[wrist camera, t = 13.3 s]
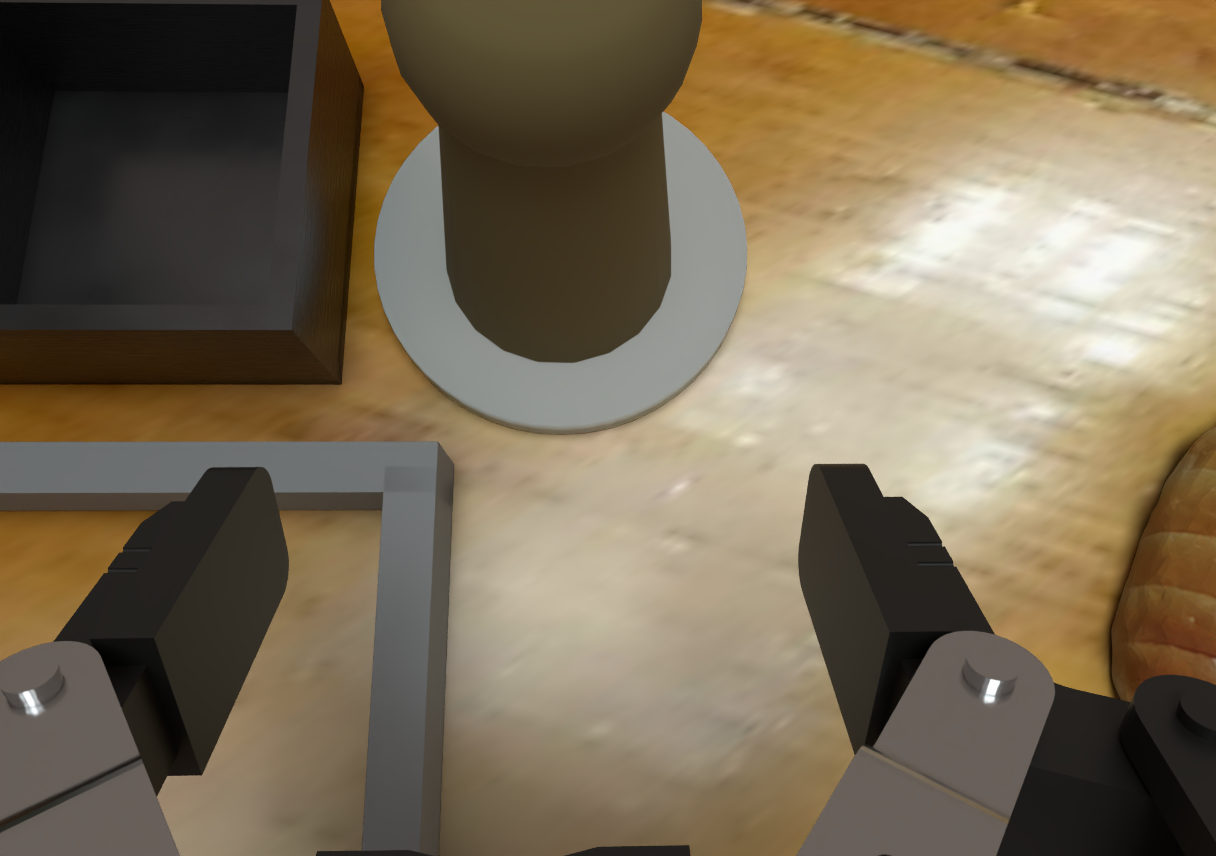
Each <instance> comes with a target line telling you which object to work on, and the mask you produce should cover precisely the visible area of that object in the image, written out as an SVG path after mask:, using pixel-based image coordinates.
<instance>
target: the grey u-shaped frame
mask: <svg viewBox="0 0 1216 856" xmlns="http://www.w3.org/2000/svg"><path fill="white" fill-rule="evenodd" d="M211 467H264V468H265V469H266V470H267V471H268V473H269V475H270V477H271V480H272V484H273V489H274V493H275V497H276V502H277V506H278V510H382V523H381V540H380V556H379V573H378V590H377V606H376V623H375V639H374V656H373V672H372V689H371V705H370V722H369V738H368V755H367V771H366V788H365V804H364V821H363V837H362V851H373V850H412V851H416V852H420V853H424V854H428V855H432V856H438V855H439V830H440V805H441V780H442V755H443V730H444V705H445V680H446V655H447V630H448V605H449V580H450V555H451V530H452V505H453V480H454V463H453V462H452V461H451V459H450V458H449V456H448V455H447V454H446V452H445V451H444V449H443V448H442V447H441V445H440V444H439V442H0V511H141V510H160V509H162V508H163V507H165V506H166V505H167V504H169V503H170V502H172V501H185V500H186V499H187V497H188V496H189V494H190V493H191V491H192V490H193V488H194V487H195V486H196V484H197V483H198V481H199V480H200V478H201V477H202V475H203V474H204V473H205V471H206V470H207V469H209V468H211Z"/></svg>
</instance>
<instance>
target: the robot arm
mask: <svg viewBox="0 0 1216 856" xmlns="http://www.w3.org/2000/svg"><path fill="white" fill-rule="evenodd" d="M798 566H799V577H800V583H801V588H802V592H803V595H804V598H805V601H806V604H807V607H808V610H809V613H810V616H811V620H812V623H813V626H814V629H815V632H816V635H817V638H818V641H819V645H820V648H821V651H822V654H823V657H824V660H825V663H826V666H827V670H828V673H829V676H830V679H831V682H832V685H833V688H834V691H835V695H836V698H837V701H838V704H839V707H840V710H841V713H842V716H843V719H844V723H845V726H846V729H847V732H848V735H849V738H850V741H851V744H852V748H853V751H854V754H855V756H854V758H853V760H852V761H851V763H850V765H849V766H848V768H847V770H846V772H845V773H844V775H843V777H842V778H841V780H840V782H839V784H838V785H837V787H836V789H835V790H834V792H833V794H832V796H831V797H830V799H829V801H828V802H827V804H826V806H825V808H824V809H823V811H822V813H821V814H820V816H819V818H818V820H817V821H816V823H815V825H814V826H813V828H812V830H811V831H810V833H809V835H808V837H807V838H806V840H805V842H804V843H803V845H802V847H801V849H800V850H799V852H798V854H797V855H796V856H1216V685H1215V684H1212V683H1210V682H1207V681H1204V680H1200V679H1197V678H1193V677H1188V676H1182V675H1159V676H1154V677H1151V678H1149V679H1146V680H1145V681H1143V682H1142V683H1141V684H1140V685H1139V686H1138V688H1137V689H1136V691H1135V693H1134V695H1133V698H1132V700H1131V702H1128V701H1124V700H1119V699H1115V698H1111V697H1106V696H1102V695H1097V694H1093V693H1089V692H1084V691H1080V690H1076V689H1072V688H1068V687H1065V686H1062V685H1059V684H1056V683H1054V682H1053V680H1052V677H1051V675H1050V674H1049V672H1048V670H1047V669H1046V668H1045V666H1044V665H1043V664H1042V663H1041V662H1040V661H1039V660H1038V659H1037V658H1036V657H1035V656H1034V655H1033V654H1032V653H1030V652H1029V651H1028V650H1026V649H1025V648H1023V647H1021V646H1020V645H1018V644H1016V643H1014V642H1012V641H1010V640H1008V639H1006V638H1003V637H1000V636H997V635H995V634H994V632H993V630H992V629H991V627H990V625H989V623H988V622H987V620H986V618H985V616H984V615H983V613H982V611H981V609H980V608H979V606H978V604H977V602H976V601H975V599H974V597H973V595H972V594H971V592H970V590H969V588H968V586H967V585H966V583H965V581H964V579H963V578H962V576H961V574H960V572H959V571H958V569H957V567H954V566H953V560H952V558H951V557H950V555H949V553H948V551H947V550H946V548H945V547H942V541H941V539H940V537H939V536H938V534H937V532H936V530H935V529H934V527H933V525H932V523H931V522H930V520H929V518H928V517H927V516H926V515H924V514H923V513H922V512H921V511H919V510H918V509H917V508H916V507H914V506H913V505H912V504H911V503H909V502H908V501H907V500H906V499H904V498H903V497H883V495H882V493H881V491H880V489H879V487H878V485H877V483H876V481H875V479H874V477H873V476H872V474H871V472H870V470H869V468H868V466H867V465H865V464H814V465H813V467H812V469H811V471H810V475H809V481H808V488H807V495H806V502H805V508H804V515H803V522H802V529H801V536H800V543H799V553H798ZM288 571H289V558H288V550H287V545H286V541H285V537H284V532H283V528H282V524H281V519H280V515H279V510H278V506H277V502H276V497H275V493H274V489H273V484H272V480H271V477H270V475H269V473H268V471H267V470H266V469H265V468H264V467H211V468H209V469H207V470H206V471H205V473H204V474H203V475H202V477H201V478H200V480H199V481H198V483H197V484H196V486H195V487H194V488H193V490H192V491H191V493H190V494H189V496H188V497H187V499H186V500H185V501H172V502H170V503H169V504H167V505H166V506H165V507H163V508H162V509H160V510H159V511H158V512H156V513H155V514H153V515H152V516H150V517H149V518H148V519H146V520H145V521H143V522H142V523H141V524H140V525H139V527H138V528H137V529H136V531H135V532H134V534H133V535H132V536H131V538H130V539H129V540H128V542H127V543H126V544H125V546H124V547H123V553H119V554H118V555H117V556H116V558H115V559H114V561H113V562H112V563H111V565H110V566H109V567H108V573H104V574H103V575H102V577H101V578H100V579H99V581H98V582H97V584H96V585H95V586H94V588H93V589H92V590H91V592H90V593H89V594H88V596H87V597H86V598H85V600H84V601H83V602H82V604H81V605H80V606H79V608H78V609H77V611H76V612H75V613H74V615H73V616H72V617H71V619H70V620H69V621H68V623H67V624H66V625H65V627H64V628H63V629H62V631H61V632H60V633H59V635H58V636H57V638H56V639H55V640H54V642H51V643H45V644H41V645H37V646H34V647H31V648H28V649H25V650H22V651H20V652H18V653H16V654H13V655H11V656H9V657H8V658H6V659H4V660H2V661H0V856H180V855H179V852H178V850H177V847H176V845H175V842H174V840H173V837H172V835H171V832H170V830H169V827H168V825H167V822H166V820H165V817H164V814H163V812H162V809H161V807H160V804H159V802H158V799H157V795H158V793H159V791H160V789H161V787H162V785H163V783H164V781H165V779H166V777H167V776H188V775H202V774H203V772H204V770H205V767H206V765H207V763H208V761H209V759H210V756H211V754H212V752H213V750H214V748H215V745H216V743H217V741H218V739H219V736H220V734H221V732H222V730H223V728H224V725H225V723H226V721H227V719H228V716H229V714H230V712H231V710H232V708H233V705H234V703H235V701H236V699H237V696H238V694H239V692H240V690H241V688H242V685H243V683H244V681H245V679H246V677H247V674H248V672H249V670H250V668H251V665H252V663H253V661H254V659H255V657H256V654H257V652H258V650H259V648H260V645H261V643H262V641H263V639H264V637H265V634H266V632H267V630H268V628H269V626H270V623H271V621H272V619H273V617H274V614H275V612H276V610H277V608H278V606H279V603H280V601H281V599H282V597H283V594H284V592H285V589H286V585H287V580H288ZM316 856H432V855H428V854H424V853H420V852H416V851H412V850H373V851H317V854H316ZM566 856H690V849H689V845H682V846H621V847H596V848H592V849H588V850H585V851H581V852H577V853H573V854H569V855H566Z"/></svg>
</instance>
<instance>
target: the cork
mask: <svg viewBox="0 0 1216 856" xmlns="http://www.w3.org/2000/svg"><path fill="white" fill-rule="evenodd" d="M381 11H382V14H383V18H384V21H385V25H386V28H387V32H388V35H389V39H390V42H391V46H392V49H393V53H394V55H395V58H396V61H397V64H398V67H399V70H400V73H401V76H402V77H403V79H404V80H405V81H406V83H407V84H408V85H409V87H410V88H411V89H412V91H413V92H414V93H415V95H416V96H417V97H418V99H419V100H420V102H421V103H422V104H423V106H424V107H425V108H426V110H427V111H428V112H429V114H430V115H431V116H432V117H433V119H434V120H435V121H436V122H437V124H438V126H439V144H440V162H441V180H442V199H443V217H444V235H445V253H446V270H447V274H448V277H449V281H450V284H451V288H452V292H453V295H454V299H455V302H456V303H457V305H458V306H459V308H460V309H461V310H462V312H463V313H464V315H465V316H466V318H467V319H468V320H469V322H470V323H471V325H472V326H473V327H474V329H475V330H476V331H478V332H479V333H480V334H482V335H483V336H484V337H486V338H487V339H488V340H490V341H491V342H493V343H494V344H495V345H497V346H498V347H499V348H501V349H502V350H504V351H507V352H510V353H512V354H515V355H518V356H521V357H524V358H527V359H530V360H533V361H536V362H559V363H576V362H579V361H583V360H586V359H590V358H593V357H597V356H601V355H604V354H608V353H610V352H612V351H613V350H615V349H616V348H618V347H619V346H621V345H622V344H624V343H625V342H627V341H629V340H630V339H632V338H633V337H635V336H636V335H638V334H639V333H640V332H641V330H642V329H643V328H644V327H645V325H646V324H647V323H648V322H649V320H650V319H651V318H652V317H653V315H654V314H655V313H656V312H657V310H658V309H659V308H660V306H661V303H662V300H663V298H664V295H665V292H666V289H667V286H668V283H669V281H670V278H671V235H670V221H669V207H668V192H667V178H666V164H665V150H664V136H663V121H662V112H663V111H664V110H665V109H666V108H667V107H668V105H669V104H670V103H671V101H672V100H673V98H674V97H675V95H676V93H677V92H678V90H679V89H680V87H681V85H682V83H683V81H684V78H685V75H686V73H687V70H688V67H689V65H690V62H691V59H692V57H693V54H694V51H695V49H696V46H697V42H698V37H699V32H700V27H701V22H702V0H381Z"/></svg>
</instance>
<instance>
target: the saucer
mask: <svg viewBox="0 0 1216 856" xmlns="http://www.w3.org/2000/svg"><path fill="white" fill-rule="evenodd" d="M662 121H663V136H664V150H665V164H666V178H667V192H668V207H669V221H670V235H671V278H670V281H669V283H668V286H667V289H666V292H665V295H664V298H663V300H662V303H661V306H660V308H659V309H658V310H657V312H656V313H655V314H654V315H653V317H652V318H651V319H650V320H649V322H648V323H647V324H646V325H645V327H644V328H643V329H642V330H641V332H640V333H639V334H638V335H636V336H635V337H633V338H632V339H630V340H629V341H627V342H625V343H624V344H622V345H621V346H619V347H618V348H616V349H615V350H613V351H612V352H610V353H608V354H604V355H601V356H597V357H593V358H590V359H586V360H583V361H579V362H576V363H559V362H536V361H533V360H530V359H527V358H524V357H521V356H518V355H515V354H512V353H510V352H507V351H504V350H502V349H501V348H499V347H498V346H497V345H495V344H494V343H493V342H491V341H490V340H488V339H487V338H486V337H484V336H483V335H482V334H480V333H479V332H478V331H476V330H475V329H474V327H473V326H472V325H471V323H470V322H469V320H468V319H467V318H466V316H465V315H464V313H463V312H462V310H461V309H460V308H459V306H458V305H457V303H456V302H455V299H454V295H453V292H452V288H451V284H450V281H449V277H448V274H447V270H446V253H445V235H444V217H443V199H442V180H441V162H440V144H439V126H438V127H436V128H435V129H434V130H433V131H432V132H431V133H430V134H429V135H428V136H427V137H426V138H424V139H423V140H422V141H421V142H420V143H419V144H418V145H417V147H416V148H415V149H414V150H413V152H412V153H411V154H410V155H409V156H408V158H407V159H406V160H405V161H404V163H403V165H402V166H401V168H400V169H399V171H398V173H397V174H396V176H395V178H394V179H393V181H392V183H391V185H390V188H389V190H388V192H387V194H386V197H385V199H384V201H383V205H382V208H381V212H380V215H379V219H378V222H377V229H376V236H375V243H374V267H375V274H376V281H377V287H378V292H379V295H380V298H381V302H382V305H383V308H384V311H385V313H386V316H387V318H388V320H389V322H390V324H391V326H392V328H393V331H394V333H395V334H396V336H397V338H398V339H399V341H400V343H401V344H402V346H403V347H404V349H405V350H406V352H407V353H408V355H409V357H410V358H411V360H412V361H413V363H414V364H415V365H416V367H417V368H418V369H419V370H420V371H421V372H422V373H423V375H424V376H425V377H426V378H427V379H428V380H429V381H430V382H431V383H432V384H433V385H434V386H435V387H436V388H438V389H439V390H440V391H441V392H442V393H443V394H444V395H446V396H447V397H448V398H449V399H451V400H453V401H454V402H456V403H457V404H459V405H460V406H462V407H463V408H465V409H466V410H468V411H470V412H472V413H474V414H476V415H478V416H480V417H482V418H484V419H487V420H489V421H491V422H494V423H497V424H500V425H503V426H507V427H510V428H513V429H518V430H523V431H528V432H533V433H543V434H559V435H564V434H579V433H589V432H594V431H599V430H604V429H610V428H613V427H616V426H619V425H622V424H625V423H628V422H631V421H634V420H636V419H638V418H640V417H642V416H644V415H646V414H648V413H650V412H653V411H655V410H656V409H658V408H659V407H661V406H662V405H664V404H665V403H667V402H668V401H670V400H672V399H673V398H675V397H676V396H677V395H678V394H679V393H681V392H682V391H683V390H684V389H685V388H686V387H687V386H689V385H690V384H691V383H692V382H693V381H694V380H695V379H696V378H697V377H698V375H699V374H700V373H701V372H702V371H703V370H704V369H705V368H706V366H707V365H708V364H709V362H710V361H711V359H712V358H713V356H714V355H715V353H716V352H717V350H718V349H719V347H720V346H721V344H722V342H723V340H724V338H725V336H726V334H727V331H728V329H729V327H730V325H731V323H732V320H733V318H734V316H735V313H736V311H737V307H738V304H739V301H740V298H741V295H742V292H743V287H744V281H745V275H746V269H747V241H746V233H745V224H744V220H743V217H742V213H741V209H740V205H739V202H738V200H737V197H736V195H735V192H734V190H733V188H732V185H731V183H730V181H729V179H728V178H727V176H726V174H725V173H724V171H723V169H722V168H721V166H720V164H719V163H718V161H717V160H716V159H715V158H714V156H713V155H712V154H711V152H710V151H709V150H708V149H707V147H706V146H705V145H704V144H703V143H702V142H701V141H700V140H699V139H698V138H697V137H696V136H695V135H694V134H693V133H692V132H691V131H690V130H689V129H687V128H686V127H685V126H683V125H682V124H681V123H679V122H678V121H677V120H675V119H674V118H673V117H671V116H670V115H668V114H666V113H665V112H662Z"/></svg>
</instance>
